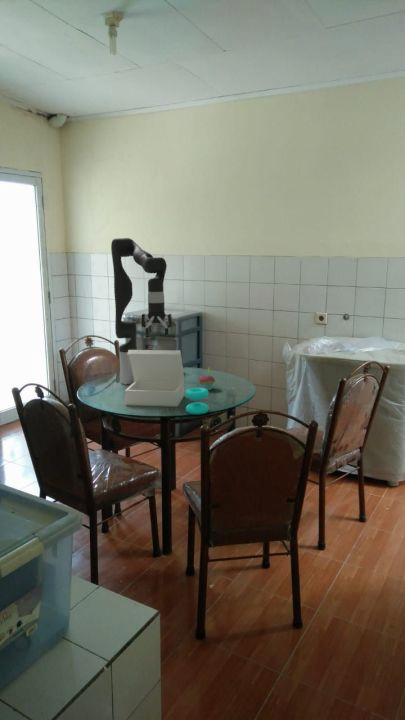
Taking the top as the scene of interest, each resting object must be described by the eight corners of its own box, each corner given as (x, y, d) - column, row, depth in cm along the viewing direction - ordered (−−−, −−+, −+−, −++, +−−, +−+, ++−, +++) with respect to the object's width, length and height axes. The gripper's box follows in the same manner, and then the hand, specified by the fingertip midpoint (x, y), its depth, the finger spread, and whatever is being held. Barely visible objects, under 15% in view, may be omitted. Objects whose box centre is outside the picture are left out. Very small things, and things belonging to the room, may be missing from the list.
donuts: (186, 393, 215) (184, 387, 224) (186, 416, 217) (184, 409, 226) (210, 392, 216) (207, 386, 226) (210, 414, 218) (207, 408, 228)
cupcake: (218, 388, 259) (218, 365, 257) (207, 392, 253) (206, 368, 251) (206, 386, 265) (205, 363, 263) (194, 389, 259) (194, 366, 257)
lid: (133, 384, 246) (137, 373, 253) (183, 385, 243) (185, 374, 249) (127, 353, 235) (131, 343, 241) (179, 354, 232) (182, 343, 238)
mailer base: (135, 395, 250) (134, 381, 248) (184, 396, 246) (183, 382, 245) (125, 405, 233) (124, 390, 232) (177, 406, 230) (177, 391, 228)
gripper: (172, 300, 240) (173, 334, 243) (143, 300, 242) (144, 334, 245) (169, 302, 233) (170, 337, 236) (139, 302, 235) (140, 337, 238)
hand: (157, 336), depth 241 cm, fingers open, 8 cm apart
